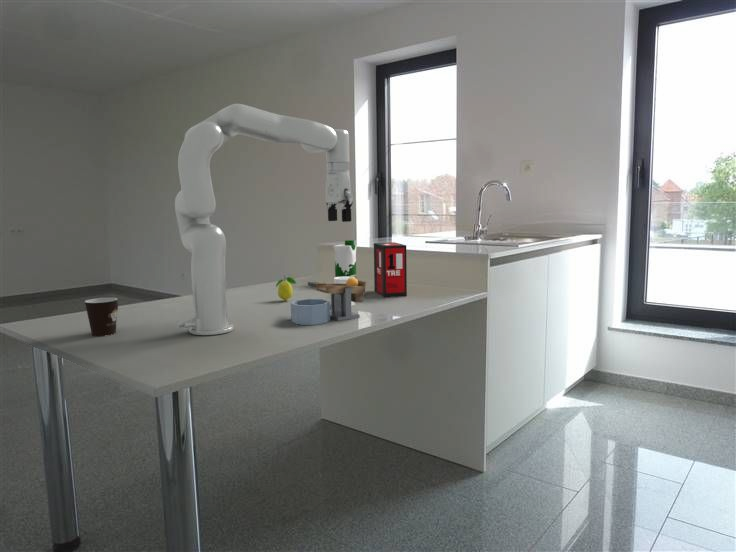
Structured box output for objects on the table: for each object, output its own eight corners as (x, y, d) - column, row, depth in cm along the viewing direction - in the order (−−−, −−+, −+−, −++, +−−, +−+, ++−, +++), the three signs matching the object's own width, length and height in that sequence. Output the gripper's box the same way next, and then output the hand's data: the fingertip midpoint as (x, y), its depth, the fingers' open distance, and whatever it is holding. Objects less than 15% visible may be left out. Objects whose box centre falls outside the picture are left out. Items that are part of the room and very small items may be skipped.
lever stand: (337, 320, 176) (337, 289, 175) (323, 315, 185) (322, 285, 183) (359, 317, 180) (359, 287, 179) (344, 312, 189) (343, 283, 187)
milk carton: (350, 287, 245) (350, 241, 242) (332, 286, 248) (331, 241, 246) (359, 284, 253) (358, 239, 250) (341, 283, 256) (340, 239, 254)
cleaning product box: (374, 291, 233) (373, 243, 230) (395, 289, 235) (394, 242, 232) (384, 297, 217) (384, 246, 214) (406, 296, 219) (406, 245, 216)
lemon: (297, 301, 212) (296, 275, 211) (282, 303, 209) (281, 276, 207) (289, 298, 217) (288, 273, 216) (275, 300, 214) (274, 274, 213)
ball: (348, 289, 181) (351, 277, 181) (342, 287, 184) (345, 275, 184) (359, 291, 183) (361, 279, 183) (353, 289, 186) (355, 277, 186)
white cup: (353, 307, 198) (352, 279, 197) (331, 307, 200) (331, 279, 198) (358, 303, 206) (357, 276, 204) (337, 302, 207) (336, 276, 206)
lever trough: (326, 302, 175) (327, 281, 174) (307, 296, 186) (308, 276, 186) (364, 302, 182) (365, 281, 182) (343, 296, 194) (344, 277, 193)
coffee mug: (99, 338, 158) (96, 303, 157) (81, 335, 163) (78, 301, 162) (135, 330, 168) (132, 297, 167) (117, 327, 173) (115, 295, 171)
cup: (302, 326, 169) (301, 307, 168) (287, 320, 179) (286, 301, 178) (335, 321, 175) (334, 302, 174) (318, 315, 185) (318, 297, 184)
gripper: (316, 170, 188) (317, 221, 191) (340, 167, 174) (341, 222, 176) (336, 170, 192) (337, 220, 194) (361, 167, 177) (362, 221, 180)
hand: (339, 221), depth 185 cm, fingers open, 9 cm apart
